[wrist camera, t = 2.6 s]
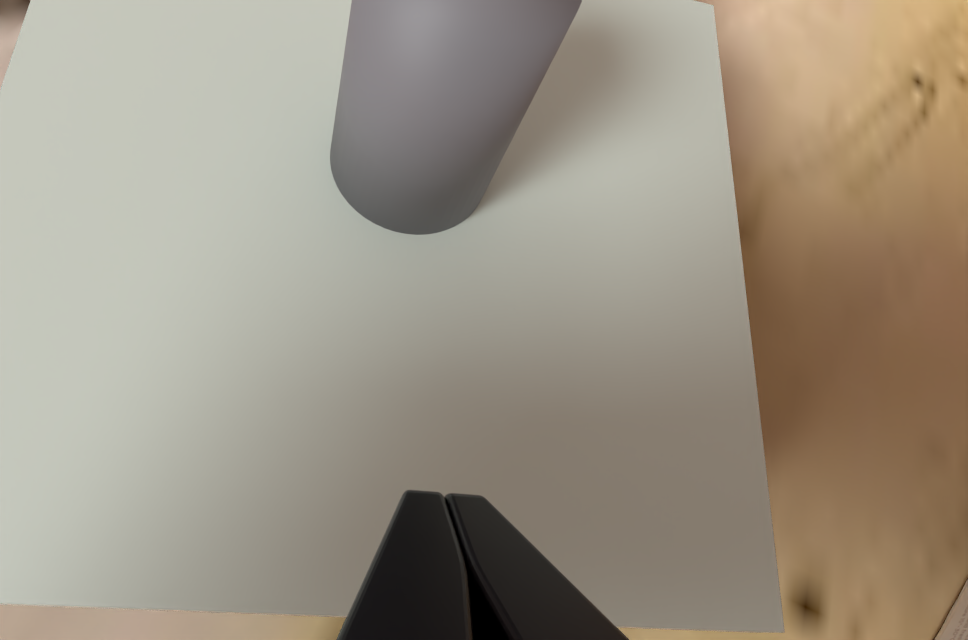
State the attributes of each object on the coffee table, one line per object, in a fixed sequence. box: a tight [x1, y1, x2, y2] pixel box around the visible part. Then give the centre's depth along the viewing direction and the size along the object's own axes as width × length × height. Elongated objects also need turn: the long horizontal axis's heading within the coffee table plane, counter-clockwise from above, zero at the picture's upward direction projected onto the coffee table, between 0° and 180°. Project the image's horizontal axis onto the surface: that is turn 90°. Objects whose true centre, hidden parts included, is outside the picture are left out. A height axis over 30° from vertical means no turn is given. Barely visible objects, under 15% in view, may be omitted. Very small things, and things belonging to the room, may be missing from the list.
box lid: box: [0, 0, 785, 633], centre depth 12 cm, size 14×14×6 cm
